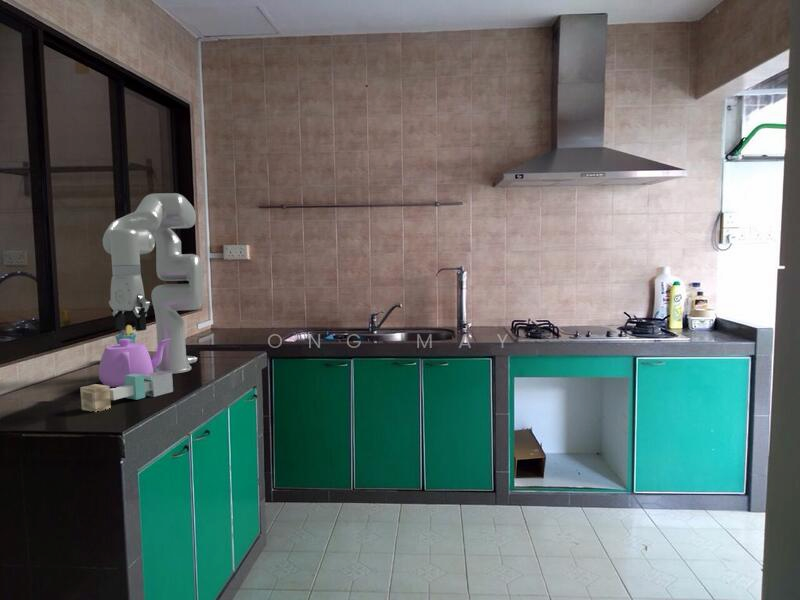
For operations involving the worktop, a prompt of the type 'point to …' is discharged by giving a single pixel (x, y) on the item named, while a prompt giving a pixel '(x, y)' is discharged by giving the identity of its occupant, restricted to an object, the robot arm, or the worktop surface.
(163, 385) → the sleeve
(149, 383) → the plug
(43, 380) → the worktop surface
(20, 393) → the worktop surface
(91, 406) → the socket
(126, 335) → the potted flower
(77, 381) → the worktop surface
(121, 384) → the teapot
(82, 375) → the worktop surface
